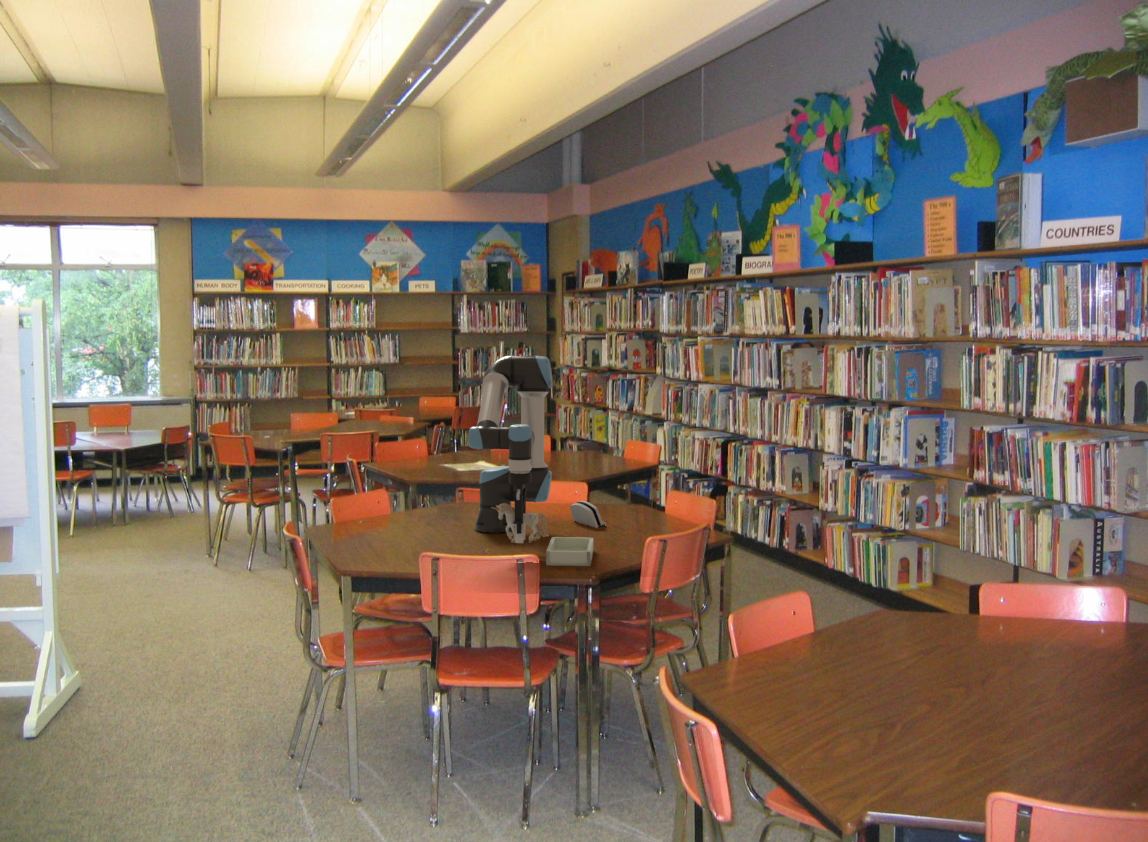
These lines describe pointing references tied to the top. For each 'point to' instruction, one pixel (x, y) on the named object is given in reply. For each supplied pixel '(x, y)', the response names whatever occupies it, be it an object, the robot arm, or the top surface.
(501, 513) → the unicorn figurine
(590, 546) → the tray
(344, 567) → the top surface
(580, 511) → the grey curved block
